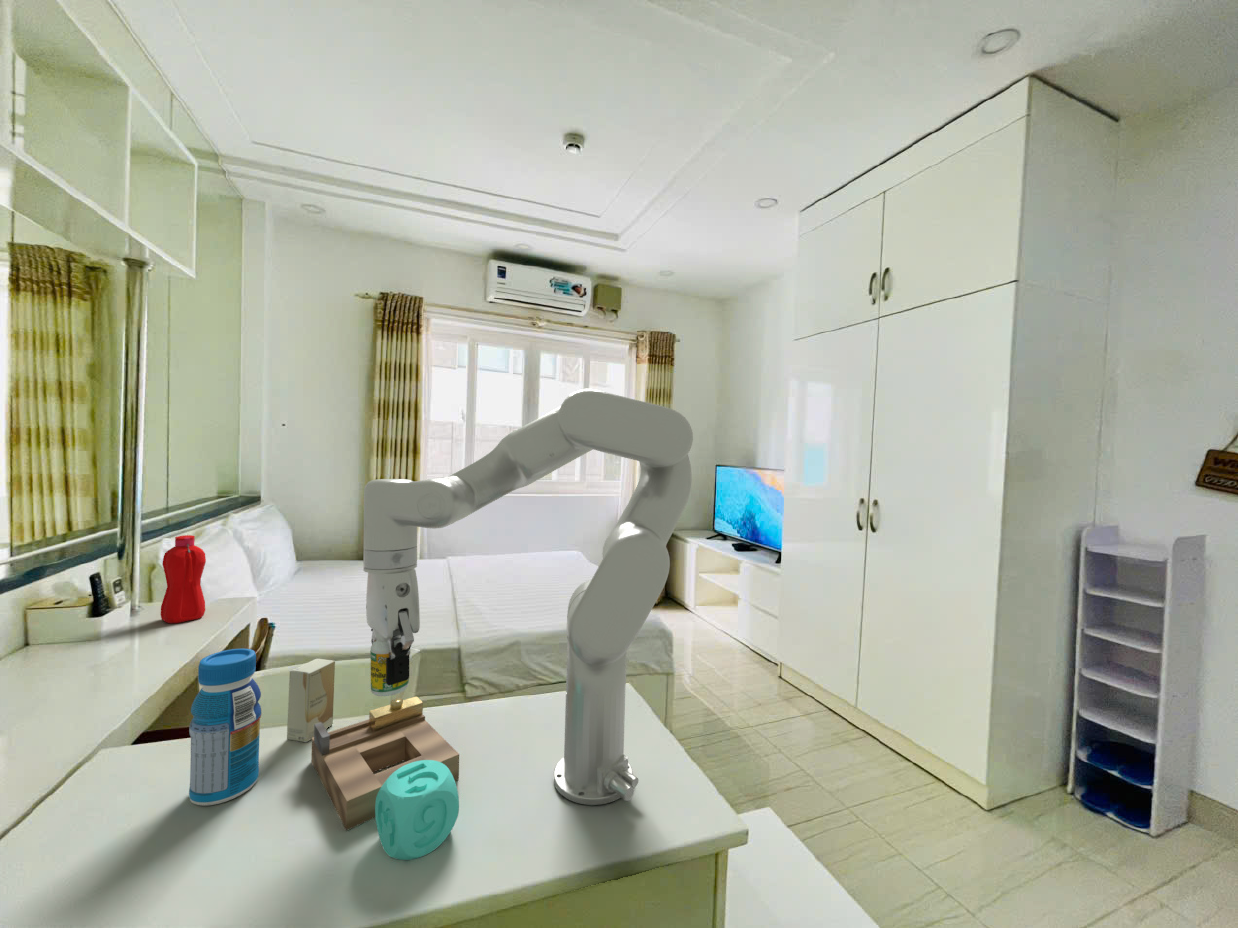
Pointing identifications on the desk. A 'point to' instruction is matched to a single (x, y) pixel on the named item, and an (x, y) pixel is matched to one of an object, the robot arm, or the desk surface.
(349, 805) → the socket block
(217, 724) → the beverage bottle
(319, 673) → the skincare box
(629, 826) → the desk surface
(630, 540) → the robot arm
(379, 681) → the supplement bottle
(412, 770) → the decorative dice
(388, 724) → the latch bar
